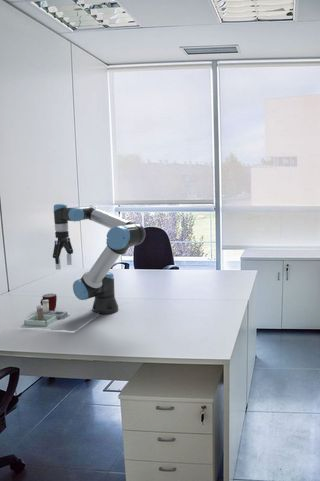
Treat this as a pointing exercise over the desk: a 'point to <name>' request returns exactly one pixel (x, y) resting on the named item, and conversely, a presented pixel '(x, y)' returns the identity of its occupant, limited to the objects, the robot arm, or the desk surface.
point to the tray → (32, 321)
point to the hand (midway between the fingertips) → (64, 267)
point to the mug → (50, 301)
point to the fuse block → (58, 314)
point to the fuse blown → (40, 313)
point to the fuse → (45, 306)
